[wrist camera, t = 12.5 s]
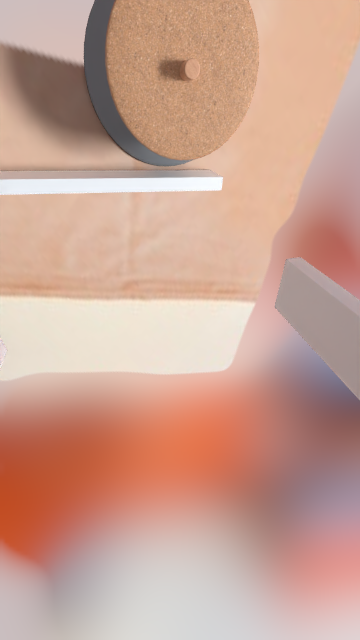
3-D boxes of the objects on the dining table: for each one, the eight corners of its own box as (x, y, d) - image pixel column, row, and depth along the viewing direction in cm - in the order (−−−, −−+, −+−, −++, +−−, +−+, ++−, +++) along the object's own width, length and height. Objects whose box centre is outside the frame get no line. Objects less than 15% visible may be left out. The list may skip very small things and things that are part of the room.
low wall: (-6, 184, 27) (-20, 195, 24) (-11, 170, 26) (-26, 179, 23) (209, 181, 31) (221, 190, 28) (210, 169, 31) (222, 177, 28)
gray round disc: (97, 166, 28) (97, 166, 28) (67, -59, 20) (67, -61, 19) (228, 165, 31) (229, 166, 31) (251, -33, 22) (253, -34, 22)
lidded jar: (163, 173, 30) (183, 195, 22) (77, 70, 23) (66, 54, 16) (244, 87, 27) (297, 80, 19) (169, -57, 20) (206, -145, 13)
